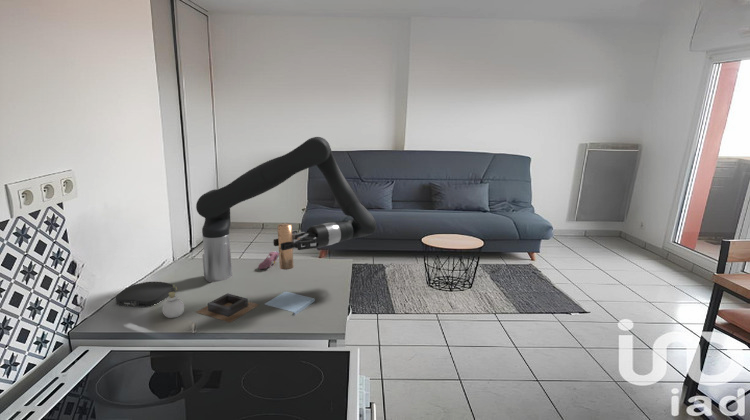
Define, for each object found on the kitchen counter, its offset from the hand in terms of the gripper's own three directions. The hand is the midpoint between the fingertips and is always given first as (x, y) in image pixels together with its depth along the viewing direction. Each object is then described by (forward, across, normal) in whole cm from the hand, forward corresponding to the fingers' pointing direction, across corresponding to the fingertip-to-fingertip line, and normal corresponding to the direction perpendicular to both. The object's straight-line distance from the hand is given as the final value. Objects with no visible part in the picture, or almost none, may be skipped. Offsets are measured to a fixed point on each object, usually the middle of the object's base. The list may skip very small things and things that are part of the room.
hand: (277, 245), depth 135 cm
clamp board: (+15, -7, +21) cm, 26 cm away
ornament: (+29, -14, +21) cm, 38 cm away
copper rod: (-3, 0, +8) cm, 8 cm away
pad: (-3, 0, +21) cm, 21 cm away
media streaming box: (+33, -34, +21) cm, 52 cm away
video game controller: (-13, -36, +21) cm, 43 cm away
